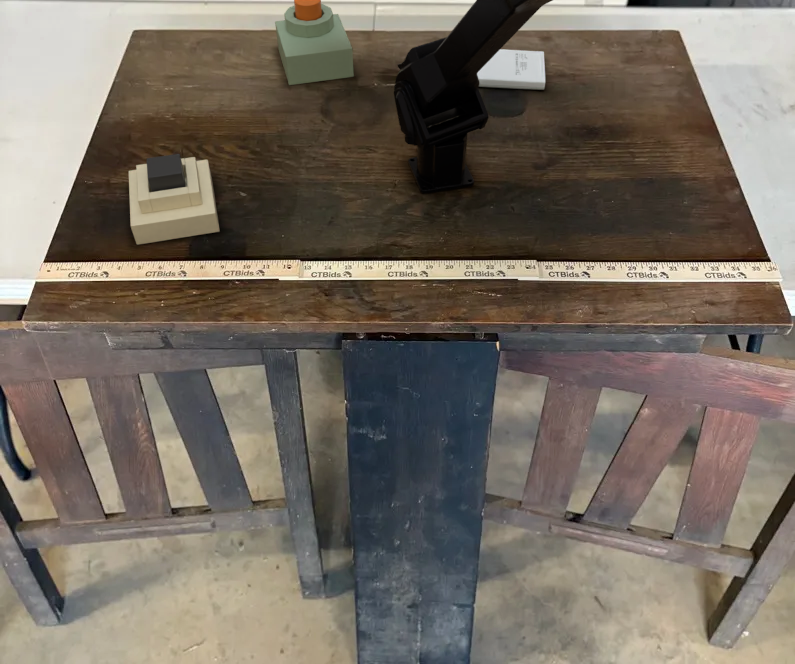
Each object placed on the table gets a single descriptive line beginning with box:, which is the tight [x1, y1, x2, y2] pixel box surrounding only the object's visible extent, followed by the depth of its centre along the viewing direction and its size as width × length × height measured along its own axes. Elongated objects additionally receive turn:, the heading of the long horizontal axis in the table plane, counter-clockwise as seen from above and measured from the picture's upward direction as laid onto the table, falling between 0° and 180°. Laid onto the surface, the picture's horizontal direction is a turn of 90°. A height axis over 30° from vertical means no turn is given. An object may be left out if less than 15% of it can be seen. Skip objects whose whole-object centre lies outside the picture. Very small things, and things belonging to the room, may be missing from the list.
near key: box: [146, 153, 185, 192], centre depth 87 cm, size 4×4×2 cm
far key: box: [293, 0, 322, 21], centre depth 109 cm, size 4×4×2 cm
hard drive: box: [477, 48, 546, 91], centre depth 110 cm, size 2×8×12 cm
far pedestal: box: [274, 3, 355, 86], centre depth 110 cm, size 11×9×6 cm
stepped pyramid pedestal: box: [128, 156, 221, 246], centre depth 89 cm, size 10×9×4 cm
